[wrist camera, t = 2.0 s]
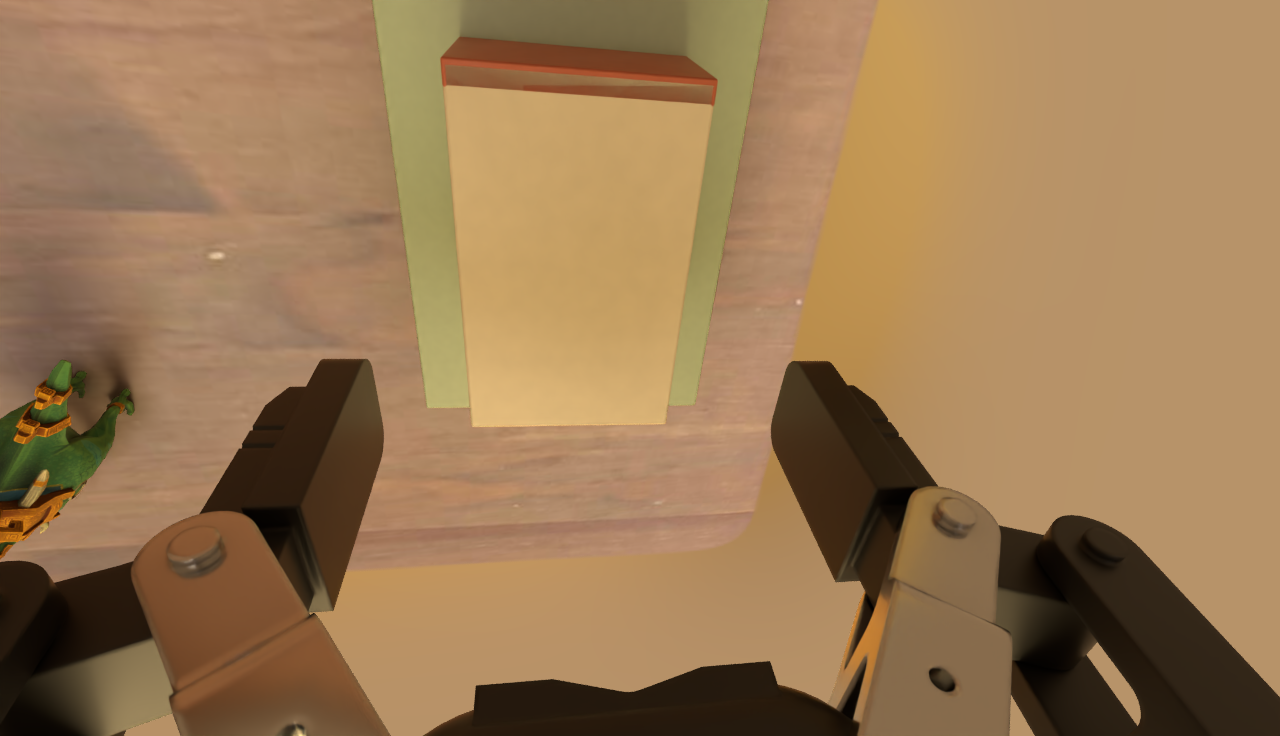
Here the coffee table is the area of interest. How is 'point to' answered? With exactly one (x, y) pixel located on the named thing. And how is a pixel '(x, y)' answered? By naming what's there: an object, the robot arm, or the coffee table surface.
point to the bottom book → (569, 16)
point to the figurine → (48, 455)
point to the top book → (572, 225)
